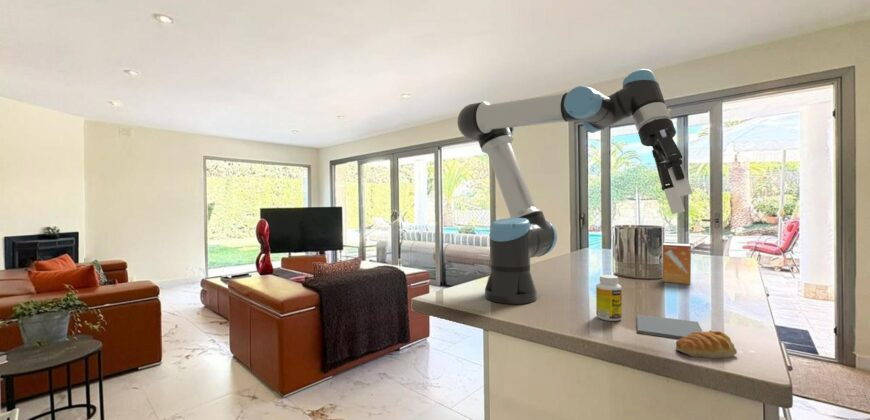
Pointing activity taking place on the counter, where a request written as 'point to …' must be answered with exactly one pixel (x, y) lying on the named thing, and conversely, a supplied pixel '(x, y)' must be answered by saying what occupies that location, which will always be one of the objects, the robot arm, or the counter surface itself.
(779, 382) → the counter surface
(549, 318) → the counter surface
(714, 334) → the pastry
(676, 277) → the small box
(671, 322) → the mat
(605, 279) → the supplement bottle
